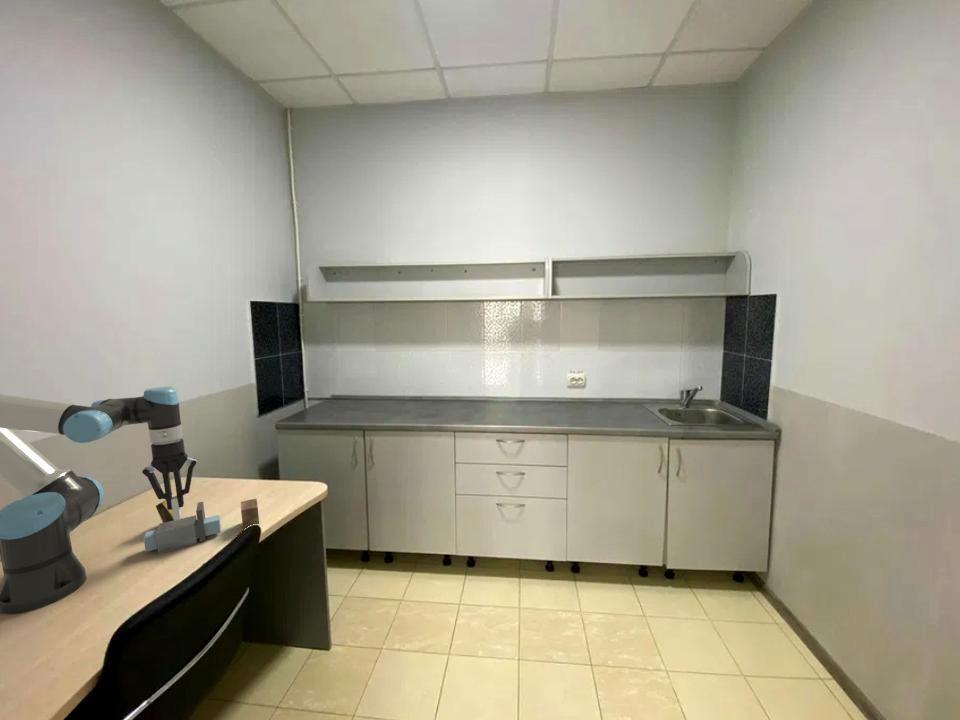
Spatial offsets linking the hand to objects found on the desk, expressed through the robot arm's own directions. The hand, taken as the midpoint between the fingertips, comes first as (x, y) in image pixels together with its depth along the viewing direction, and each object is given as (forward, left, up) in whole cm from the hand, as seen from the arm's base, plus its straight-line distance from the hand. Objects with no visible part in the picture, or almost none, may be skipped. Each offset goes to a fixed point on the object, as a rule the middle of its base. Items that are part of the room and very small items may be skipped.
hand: (177, 518), depth 122 cm
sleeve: (0, 0, -8) cm, 8 cm away
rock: (-3, +14, -8) cm, 16 cm away
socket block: (+18, 0, -8) cm, 20 cm away
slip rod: (+1, 0, -8) cm, 8 cm away
